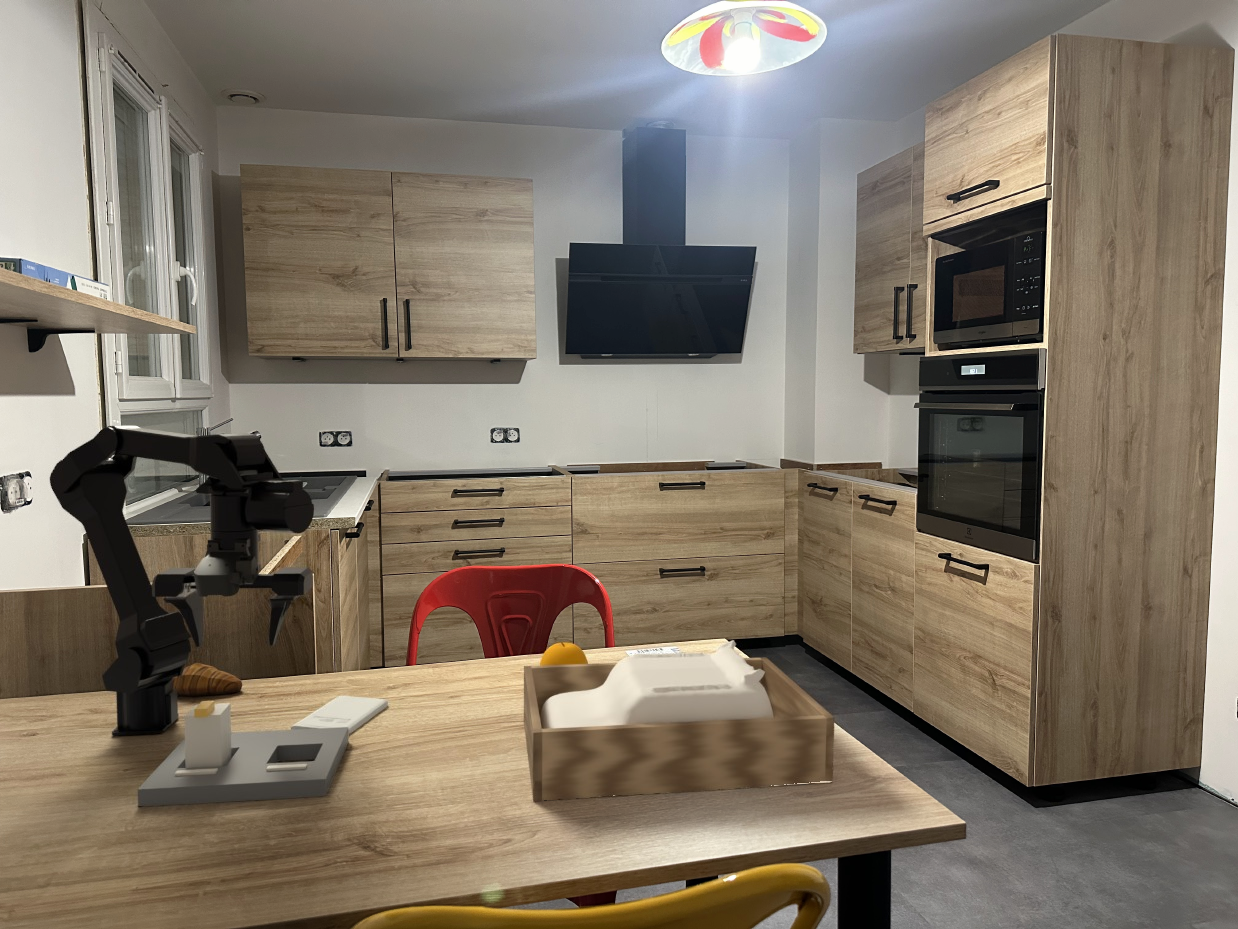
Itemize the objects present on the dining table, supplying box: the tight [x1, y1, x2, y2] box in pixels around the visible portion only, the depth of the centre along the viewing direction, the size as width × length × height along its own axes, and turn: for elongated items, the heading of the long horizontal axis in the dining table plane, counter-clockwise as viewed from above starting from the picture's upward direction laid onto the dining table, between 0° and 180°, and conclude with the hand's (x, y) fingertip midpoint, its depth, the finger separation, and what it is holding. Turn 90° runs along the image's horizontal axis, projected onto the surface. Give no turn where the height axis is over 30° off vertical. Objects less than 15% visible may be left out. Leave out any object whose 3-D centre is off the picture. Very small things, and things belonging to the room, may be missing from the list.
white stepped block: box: [540, 639, 774, 729], centre depth 108 cm, size 19×30×13 cm, turn 98°
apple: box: [539, 642, 589, 666], centre depth 134 cm, size 8×8×8 cm
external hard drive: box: [290, 695, 389, 736], centre depth 120 cm, size 2×8×12 cm
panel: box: [137, 727, 349, 807], centre depth 102 cm, size 20×16×2 cm
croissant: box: [173, 662, 243, 697], centre depth 130 cm, size 14×7×5 cm, turn 93°
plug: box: [183, 700, 232, 768], centre depth 101 cm, size 4×5×9 cm
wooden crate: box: [523, 657, 836, 802], centre depth 110 cm, size 36×25×8 cm
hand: (235, 645), depth 111 cm, fingers open, 9 cm apart
